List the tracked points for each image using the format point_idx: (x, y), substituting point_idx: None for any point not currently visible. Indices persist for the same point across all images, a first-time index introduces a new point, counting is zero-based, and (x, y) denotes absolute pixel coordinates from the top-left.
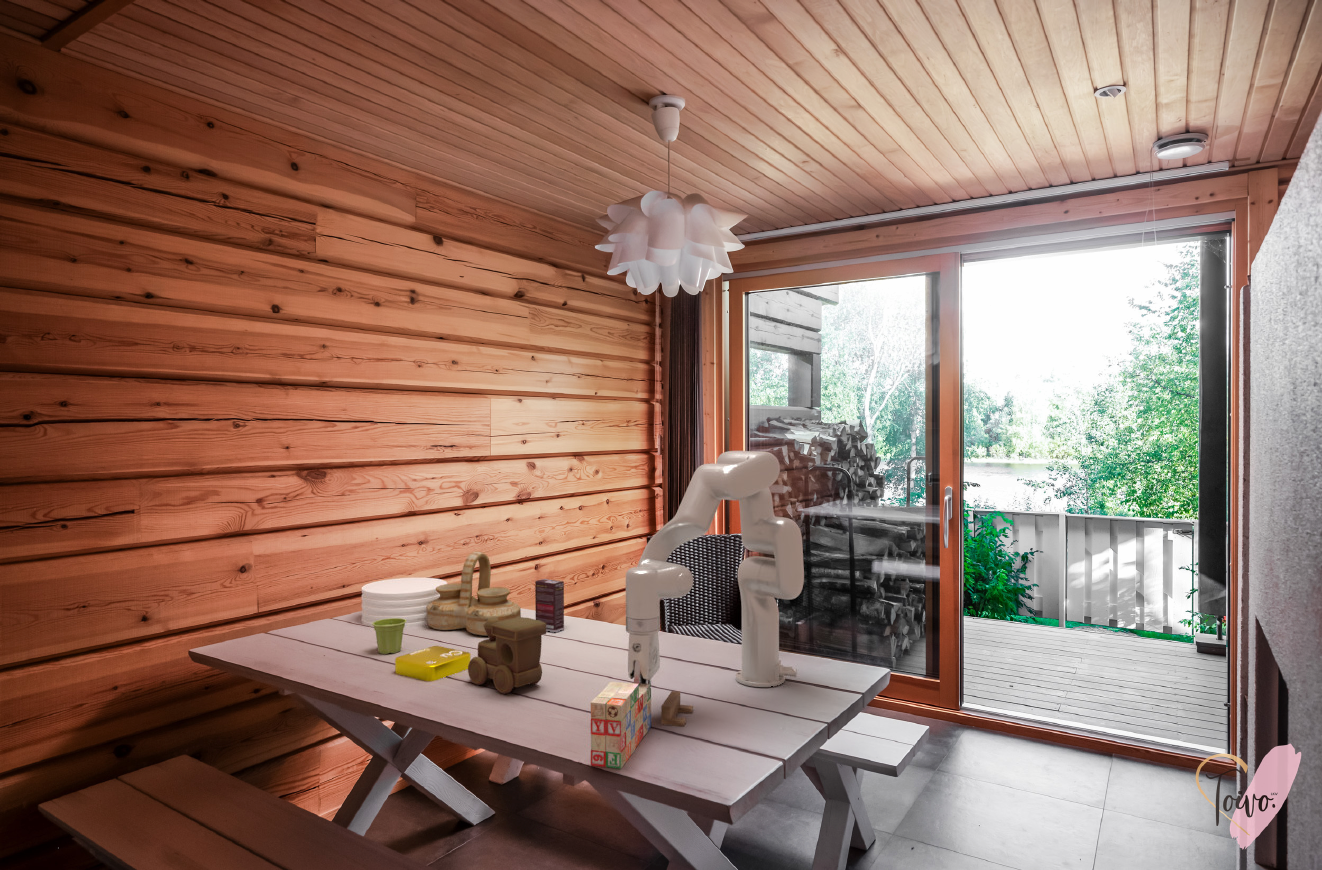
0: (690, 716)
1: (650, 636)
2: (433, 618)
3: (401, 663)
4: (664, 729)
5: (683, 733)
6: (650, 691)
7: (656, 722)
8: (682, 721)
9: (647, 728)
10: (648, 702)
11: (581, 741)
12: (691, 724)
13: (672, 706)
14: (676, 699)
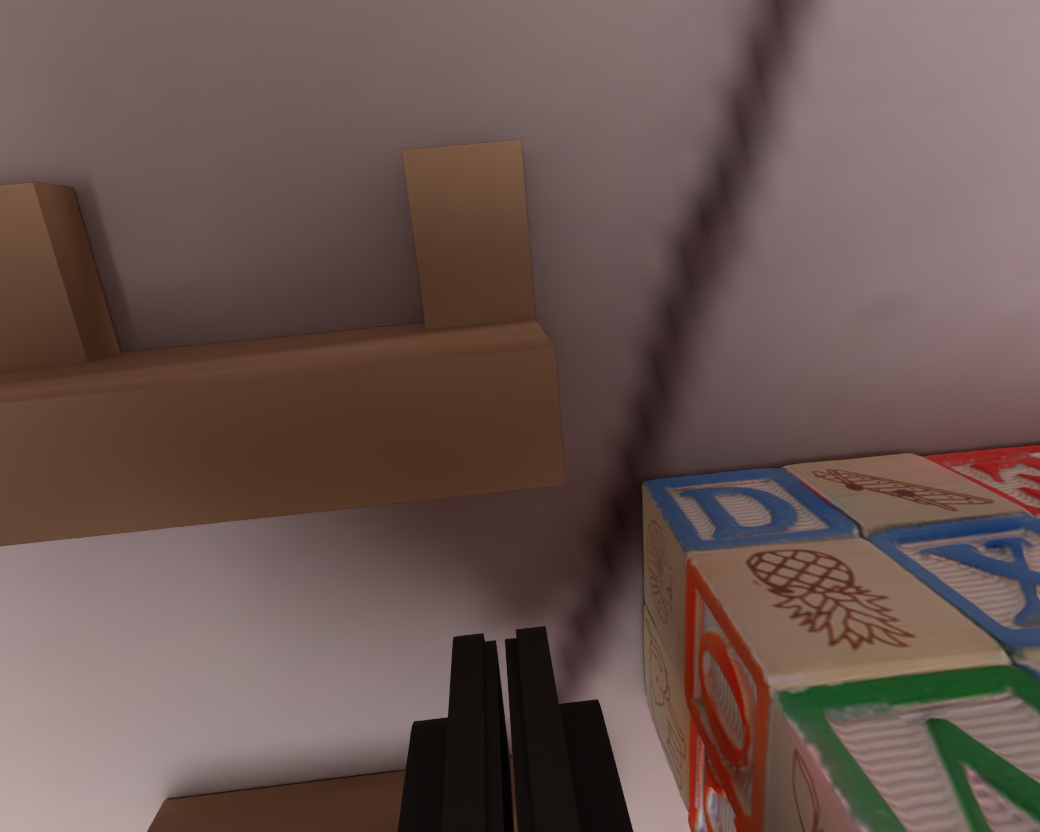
0: (177, 166)
1: None
2: None
3: None
4: (656, 333)
5: (713, 87)
6: (476, 803)
7: None
8: (513, 161)
9: (799, 476)
10: (913, 651)
11: None
12: (420, 72)
13: (406, 353)
14: (114, 385)
